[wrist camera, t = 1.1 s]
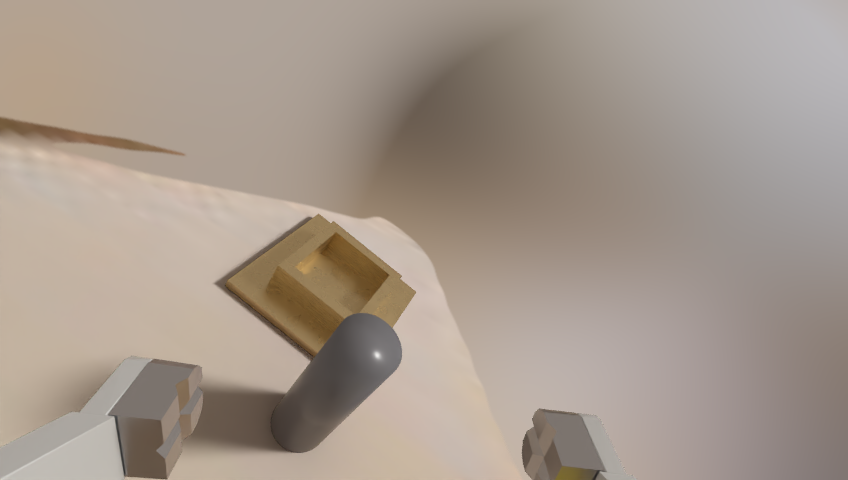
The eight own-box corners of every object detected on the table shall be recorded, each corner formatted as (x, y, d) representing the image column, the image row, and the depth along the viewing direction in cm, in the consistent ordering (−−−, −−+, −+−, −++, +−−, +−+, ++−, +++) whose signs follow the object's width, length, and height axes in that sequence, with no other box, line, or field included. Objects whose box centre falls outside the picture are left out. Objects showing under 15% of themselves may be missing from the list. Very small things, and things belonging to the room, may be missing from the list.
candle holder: (225, 285, 43) (235, 261, 41) (315, 218, 56) (327, 197, 54) (351, 386, 43) (369, 368, 41) (412, 296, 56) (428, 278, 54)
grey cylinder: (258, 427, 36) (322, 344, 28) (294, 384, 40) (359, 300, 32) (305, 465, 36) (382, 393, 28) (336, 417, 40) (412, 343, 32)
